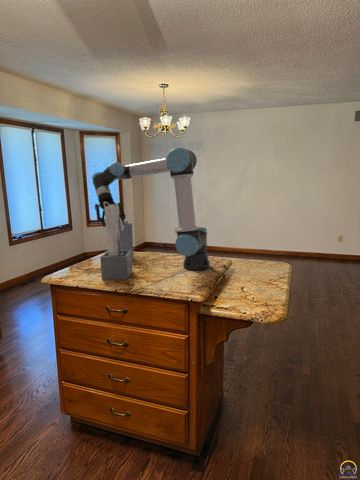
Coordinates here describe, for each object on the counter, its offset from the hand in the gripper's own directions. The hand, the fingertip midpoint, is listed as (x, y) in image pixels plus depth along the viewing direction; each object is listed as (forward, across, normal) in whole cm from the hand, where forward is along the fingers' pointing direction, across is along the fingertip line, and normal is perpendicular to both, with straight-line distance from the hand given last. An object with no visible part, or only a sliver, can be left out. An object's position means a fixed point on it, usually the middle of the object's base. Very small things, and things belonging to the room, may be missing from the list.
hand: (115, 230), depth 162 cm
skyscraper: (+7, 0, -12) cm, 14 cm away
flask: (-11, -16, -47) cm, 51 cm away
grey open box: (+16, -1, -19) cm, 25 cm away
